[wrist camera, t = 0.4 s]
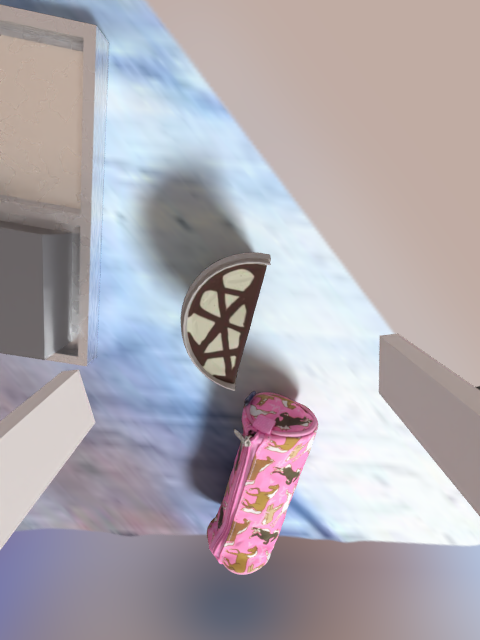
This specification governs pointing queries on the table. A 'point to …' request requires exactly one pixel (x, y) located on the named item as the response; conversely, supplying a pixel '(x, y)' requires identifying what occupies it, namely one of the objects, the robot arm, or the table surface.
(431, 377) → the robot arm
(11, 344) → the grey rectangular box
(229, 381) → the food container
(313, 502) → the table surface
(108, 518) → the table surface
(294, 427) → the pencil case
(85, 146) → the rack
